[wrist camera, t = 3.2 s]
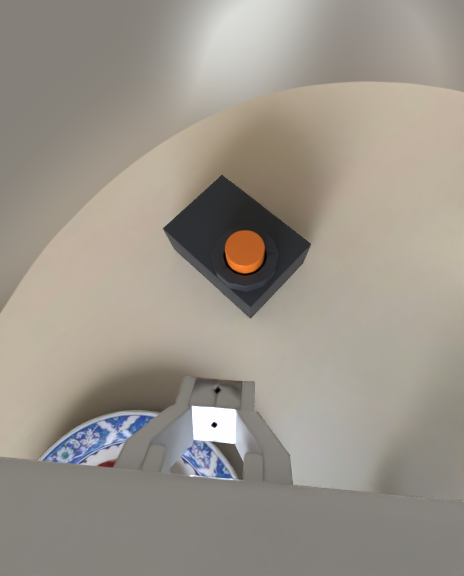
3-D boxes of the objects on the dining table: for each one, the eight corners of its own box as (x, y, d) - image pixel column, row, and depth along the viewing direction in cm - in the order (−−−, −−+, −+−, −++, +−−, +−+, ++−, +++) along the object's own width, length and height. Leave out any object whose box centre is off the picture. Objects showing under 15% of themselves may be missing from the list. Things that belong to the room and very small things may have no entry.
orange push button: (218, 257, 32) (216, 248, 30) (244, 232, 33) (243, 222, 31) (246, 281, 31) (245, 274, 29) (271, 255, 32) (273, 246, 30)
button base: (174, 249, 41) (158, 220, 34) (225, 201, 43) (220, 164, 35) (250, 318, 37) (250, 303, 30) (303, 263, 39) (314, 236, 32)
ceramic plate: (253, 407, 34) (254, 410, 31) (262, 723, 26) (264, 765, 24) (34, 408, 36) (16, 410, 33) (-18, 708, 28) (-49, 745, 25)
